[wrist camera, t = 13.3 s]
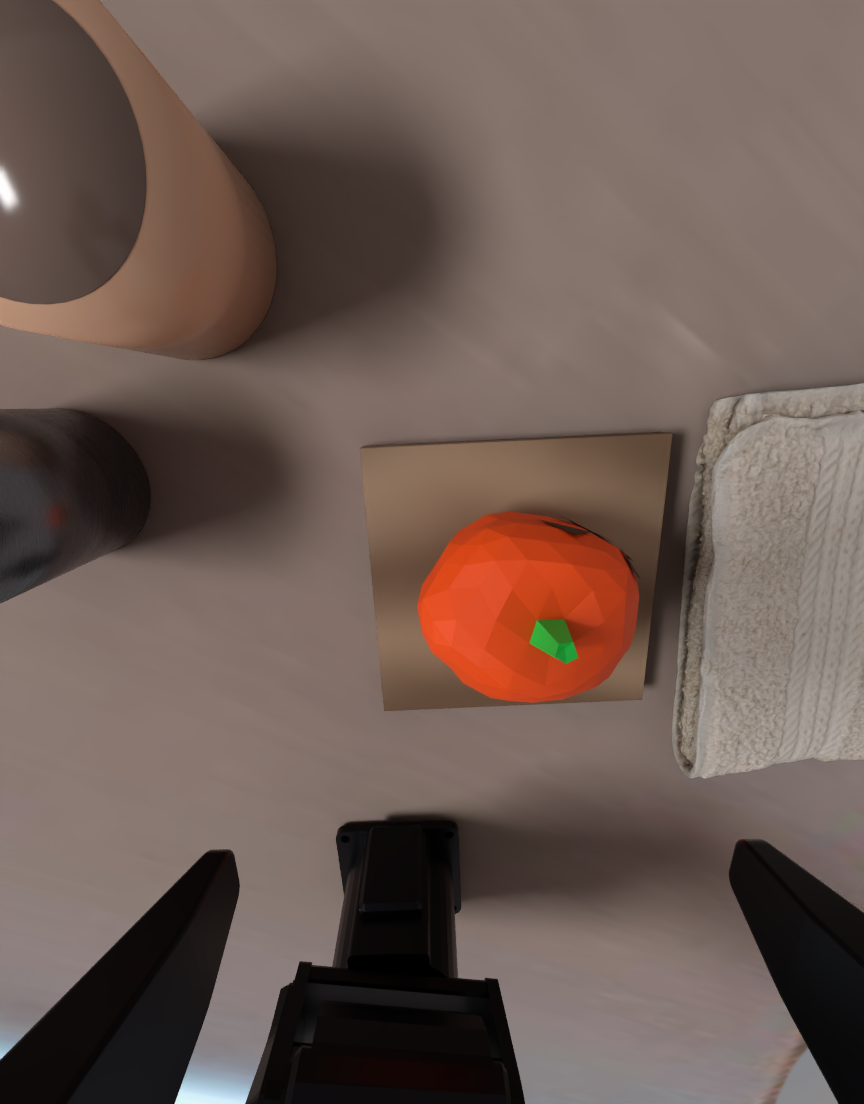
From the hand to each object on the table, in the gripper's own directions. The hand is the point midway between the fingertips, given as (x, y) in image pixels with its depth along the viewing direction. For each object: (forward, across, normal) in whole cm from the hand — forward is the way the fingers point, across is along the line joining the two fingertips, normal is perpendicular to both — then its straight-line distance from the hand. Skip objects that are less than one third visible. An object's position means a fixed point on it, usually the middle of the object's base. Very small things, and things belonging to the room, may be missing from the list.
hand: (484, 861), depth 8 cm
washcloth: (+14, -16, 0) cm, 21 cm away
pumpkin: (+12, -3, 0) cm, 12 cm away
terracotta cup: (+13, +10, -13) cm, 21 cm away
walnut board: (+13, -3, 0) cm, 13 cm away
